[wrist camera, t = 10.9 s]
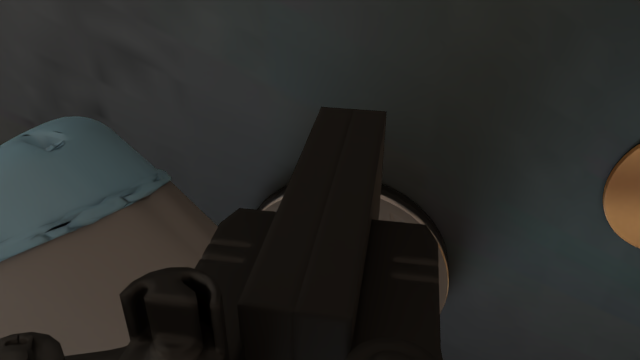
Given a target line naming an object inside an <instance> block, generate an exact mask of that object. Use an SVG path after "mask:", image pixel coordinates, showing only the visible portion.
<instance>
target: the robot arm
mask: <svg viewBox="0 0 640 360" xmlns="http://www.w3.org/2000/svg"><path fill="white" fill-rule="evenodd" d="M385 126H386V112H385V111H371V110H357V109H342V108H328V107H321V109H320V111H319V113H318V116H317V118H316V121H315V123H314V125H313V128H312V130H311V132H310V135H309V137H308V139H307V142H306V144H305V146H304V149H303V151H302V153H301V156H300V158H299V160H298V163H297V165H296V167H295V170H294V172H293V174H292V177H291V179H290V181H289V184H288V185H287V186H285V187H283V188H282V189H280V190H278V191H277V192H275V193H274V194H272V195H271V196H270V197H269V198H268V199H266V200H265V201H264V202H263V203H262V205H261V206H260V207H259V208H258V209H257V210H254V209H243V208H239V209H238V210H237V211H235V212H234V213H233V214H231V215H230V216H229V217H227V218H226V219H225V220H223V221H222V222H221V223H220V224H219V226H217V225H216V224H214V223H213V222H212V221H211V220H210V219H209V218H208V217H207V216H206V215H205V214H204V213H203V212H202V211H201V210H200V209H199V208H198V207H197V206H196V205H195V204H194V203H193V202H192V201H191V200H190V199H188V198H187V197H186V196H185V195H184V194H183V193H182V192H181V191H180V190H179V189H178V188H177V187H176V186H175V185H174V184H173V183H172V182H171V181H170V180H171V177H170V176H169V175H168V174H167V173H166V171H163V170H161V169H156V168H155V167H154V166H153V165H151V164H150V163H149V162H148V161H147V160H146V159H145V158H143V157H142V156H141V155H140V154H139V153H138V152H137V151H135V150H134V149H133V148H132V147H131V146H130V145H129V144H127V143H126V142H125V141H124V140H123V139H122V138H121V137H119V136H118V135H117V134H116V133H115V132H114V131H113V130H111V129H110V128H109V127H107V126H106V125H104V124H103V123H101V122H99V121H96V120H94V119H90V118H86V117H78V116H74V117H63V118H58V119H55V120H52V121H49V122H46V123H43V124H41V125H39V126H36V127H34V128H32V129H30V130H28V131H26V132H24V133H22V134H20V135H18V136H16V137H14V138H12V139H11V140H9V141H7V142H5V143H4V144H2V145H0V360H443V359H442V353H441V348H440V313H441V311H442V309H443V306H444V304H445V301H446V298H447V294H448V288H449V269H448V256H447V251H446V247H445V244H444V241H443V239H442V236H441V234H440V232H439V231H438V229H437V227H436V226H435V224H434V223H433V221H432V220H431V219H430V217H429V216H428V215H427V214H426V213H425V212H424V211H423V210H422V209H421V208H420V207H419V206H418V205H417V204H415V203H414V202H413V201H412V200H410V199H409V198H407V197H406V196H404V195H403V194H401V193H399V192H398V191H396V190H394V189H392V188H390V187H388V186H385V185H383V184H381V183H382V169H383V155H384V140H385Z"/></svg>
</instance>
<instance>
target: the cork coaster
mask: <svg viewBox="0 0 640 360" xmlns="http://www.w3.org/2000/svg"><path fill="white" fill-rule="evenodd" d="M603 208H604V212H605V215H606V218H607V220H608V222H609V224H610V226H611V227H612V229H613V230H614V231H615V232H616V233H617V234H618V235H619V236H620V237H621V238H622V239H623V240H625V241H626V242H628V243H630V244H632V245H634V246H635V247H638V248H640V144H638V145H637V146H636V147H634V148H633V149H631V150H630V151H629V152H628V153H627V154H626V155H624V156H623V158H622V159H621V160H620V161H619V162H618V163H617V164H616V166H615V167H614V168H613V170H612V171H611V173H610V175H609V177H608V179H607V181H606V184H605V187H604V192H603Z"/></svg>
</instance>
